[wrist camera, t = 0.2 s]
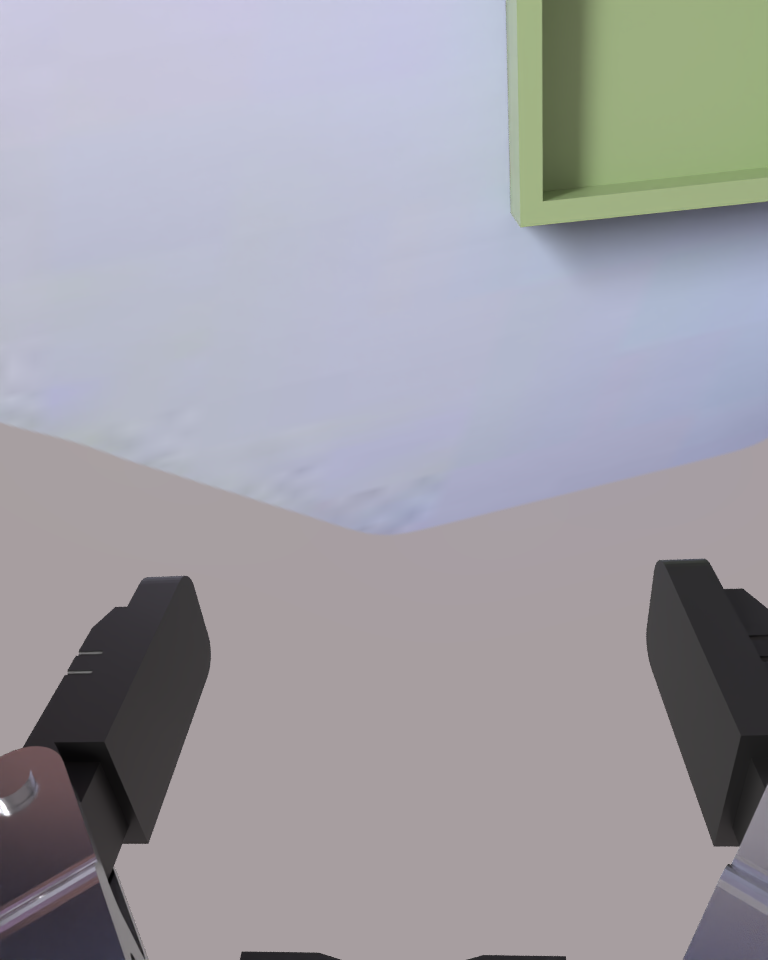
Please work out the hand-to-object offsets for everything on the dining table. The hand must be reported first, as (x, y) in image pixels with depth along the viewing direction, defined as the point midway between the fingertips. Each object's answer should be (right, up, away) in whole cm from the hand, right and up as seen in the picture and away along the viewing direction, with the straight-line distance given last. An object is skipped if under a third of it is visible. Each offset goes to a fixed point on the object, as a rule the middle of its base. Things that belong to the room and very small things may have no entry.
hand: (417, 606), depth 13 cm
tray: (+12, +22, +20) cm, 32 cm away
